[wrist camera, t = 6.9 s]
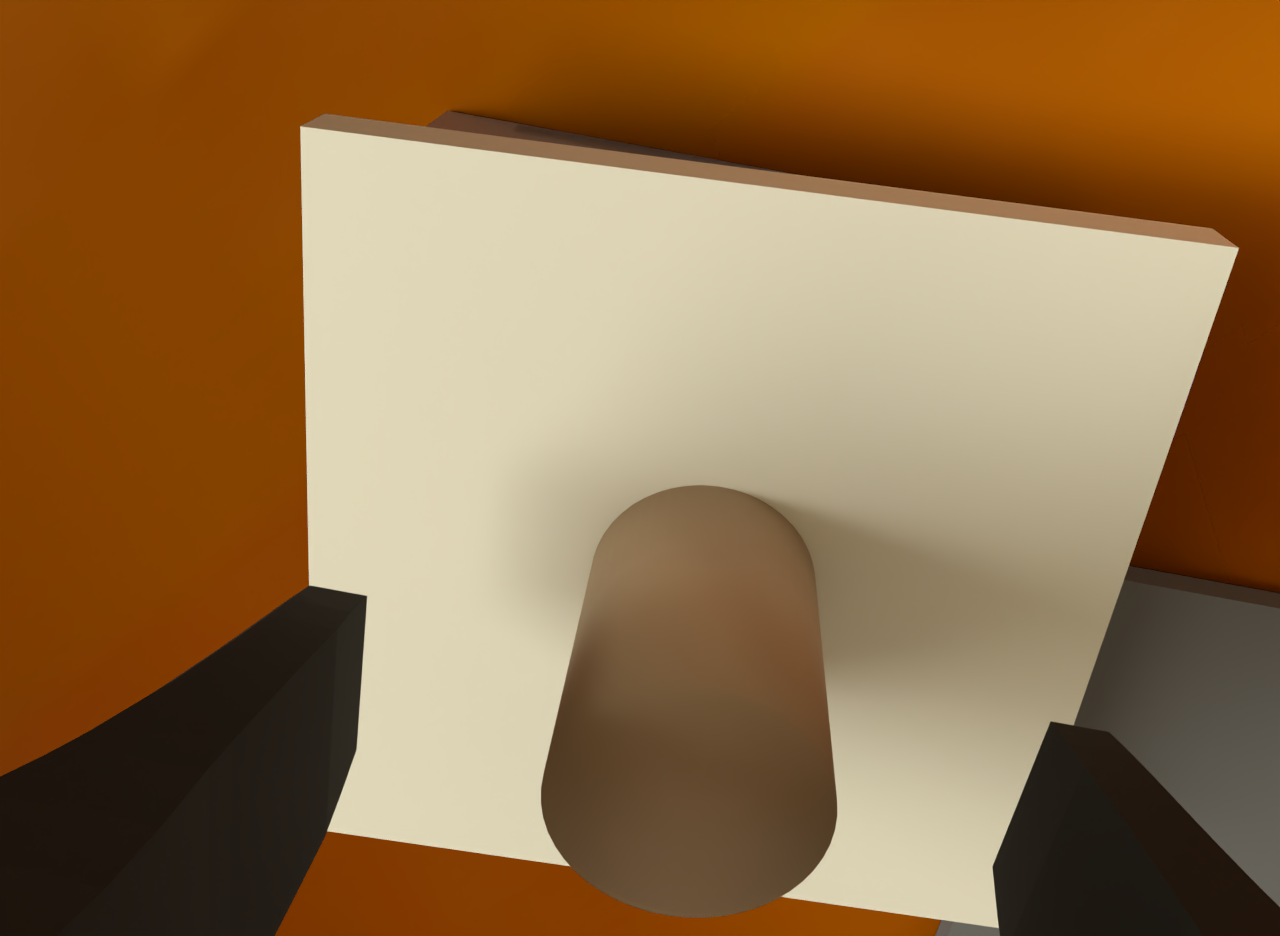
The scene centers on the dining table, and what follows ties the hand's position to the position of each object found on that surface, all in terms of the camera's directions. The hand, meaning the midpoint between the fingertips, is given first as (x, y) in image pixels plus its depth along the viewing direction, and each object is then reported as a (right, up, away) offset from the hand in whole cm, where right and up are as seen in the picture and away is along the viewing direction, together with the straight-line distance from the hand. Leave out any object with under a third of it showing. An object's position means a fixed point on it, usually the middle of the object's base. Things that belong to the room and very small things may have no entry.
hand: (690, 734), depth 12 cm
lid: (0, +2, +3) cm, 4 cm away
